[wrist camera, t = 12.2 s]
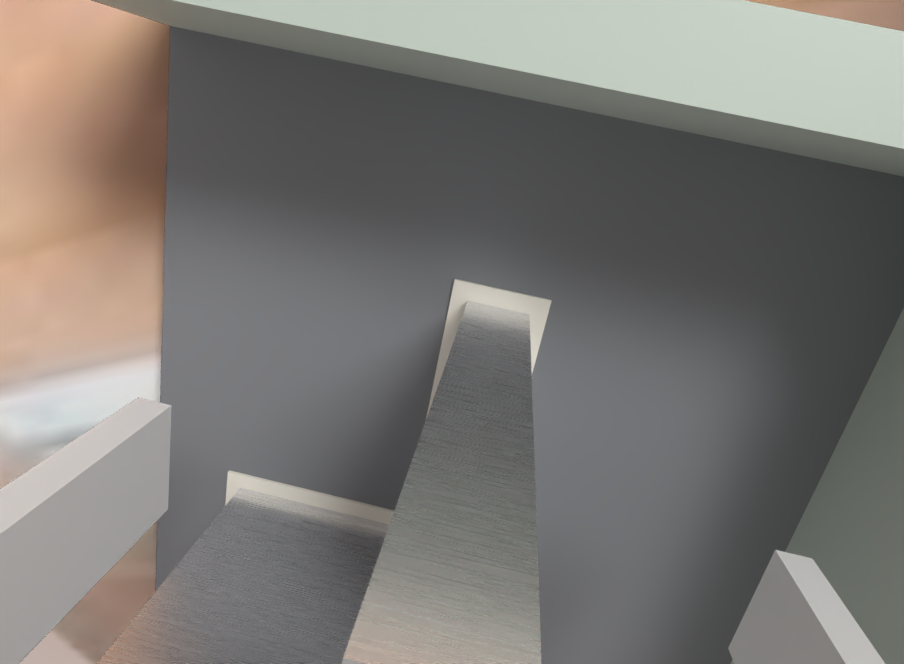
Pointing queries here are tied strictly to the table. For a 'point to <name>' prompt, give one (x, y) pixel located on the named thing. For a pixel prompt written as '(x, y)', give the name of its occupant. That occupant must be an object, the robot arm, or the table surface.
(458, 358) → the angle bracket
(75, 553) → the robot arm
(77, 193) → the table surface
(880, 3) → the table surface
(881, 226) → the corner tray
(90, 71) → the table surface
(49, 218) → the table surface
